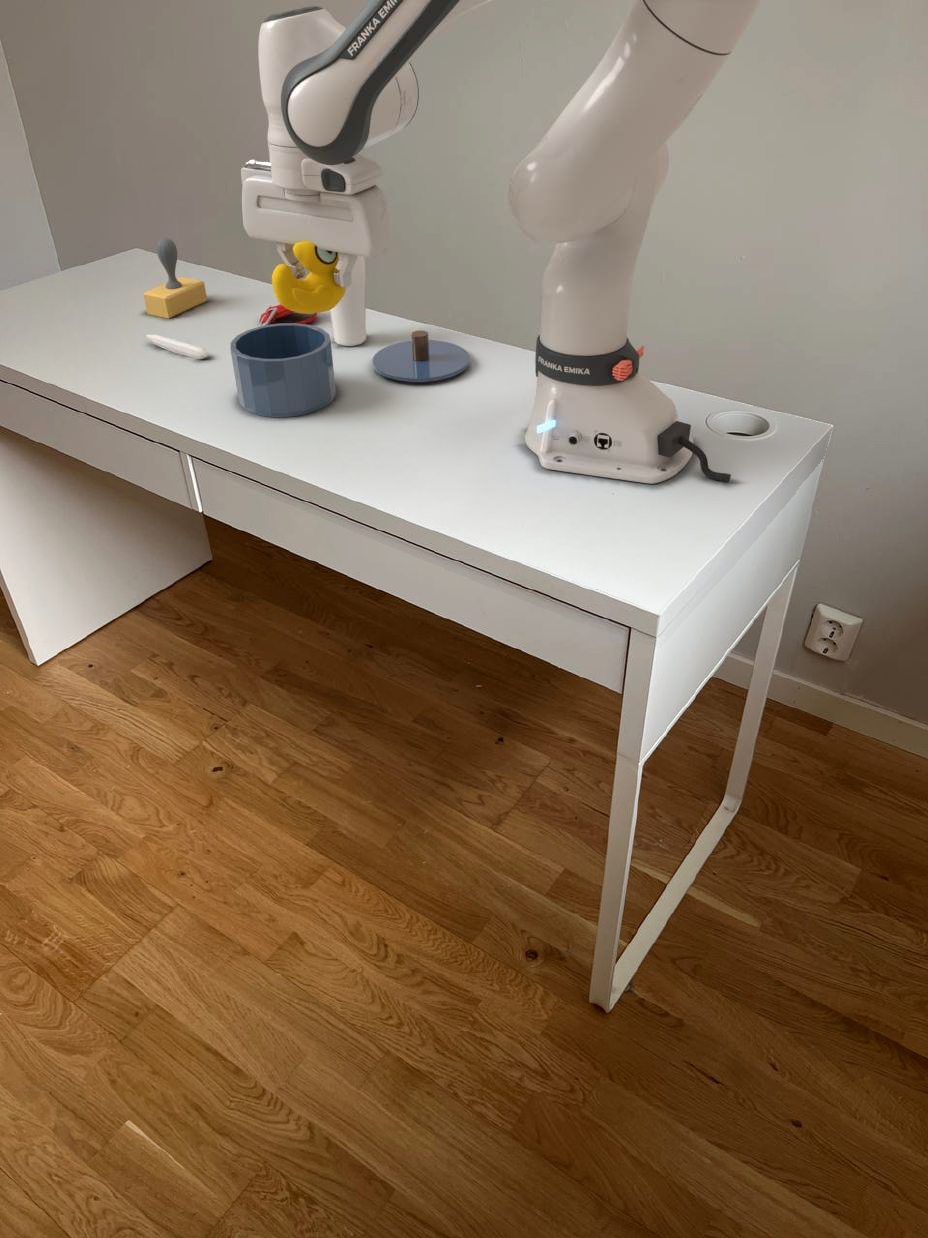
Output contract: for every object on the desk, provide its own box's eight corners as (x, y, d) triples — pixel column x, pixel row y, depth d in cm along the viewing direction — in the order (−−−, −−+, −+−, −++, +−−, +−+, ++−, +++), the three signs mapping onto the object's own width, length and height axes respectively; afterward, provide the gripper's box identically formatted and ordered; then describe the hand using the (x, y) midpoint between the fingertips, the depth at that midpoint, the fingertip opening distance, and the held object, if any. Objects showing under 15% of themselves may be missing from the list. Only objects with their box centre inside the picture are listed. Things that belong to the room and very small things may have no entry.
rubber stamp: (185, 296, 186) (172, 228, 179) (208, 301, 184) (197, 233, 177) (146, 313, 180) (131, 244, 172) (170, 318, 177) (156, 248, 170)
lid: (487, 357, 161) (486, 325, 158) (438, 393, 151) (437, 359, 147) (406, 340, 167) (404, 309, 164) (353, 374, 157) (351, 341, 154)
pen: (151, 341, 169) (149, 331, 168) (211, 358, 163) (209, 348, 162) (144, 344, 168) (142, 334, 167) (203, 361, 162) (202, 351, 161)
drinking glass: (321, 344, 166) (311, 252, 157) (344, 330, 171) (336, 239, 162) (356, 351, 164) (348, 257, 155) (378, 337, 169) (372, 245, 160)
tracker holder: (258, 306, 178) (312, 289, 178) (267, 331, 180) (320, 314, 179) (251, 315, 167) (309, 296, 166) (261, 341, 169) (318, 323, 168)
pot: (354, 387, 153) (349, 332, 148) (296, 425, 143) (289, 368, 138) (279, 370, 159) (272, 316, 153) (219, 405, 149) (209, 349, 144)
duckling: (355, 297, 135) (348, 219, 128) (368, 310, 131) (362, 230, 125) (271, 310, 131) (261, 231, 125) (283, 324, 127) (272, 243, 121)
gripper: (223, 162, 122) (240, 276, 131) (363, 180, 114) (372, 301, 123) (255, 151, 127) (270, 262, 135) (393, 168, 119) (400, 285, 127)
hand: (320, 281), depth 129 cm, fingers closed on duckling, 6 cm apart
